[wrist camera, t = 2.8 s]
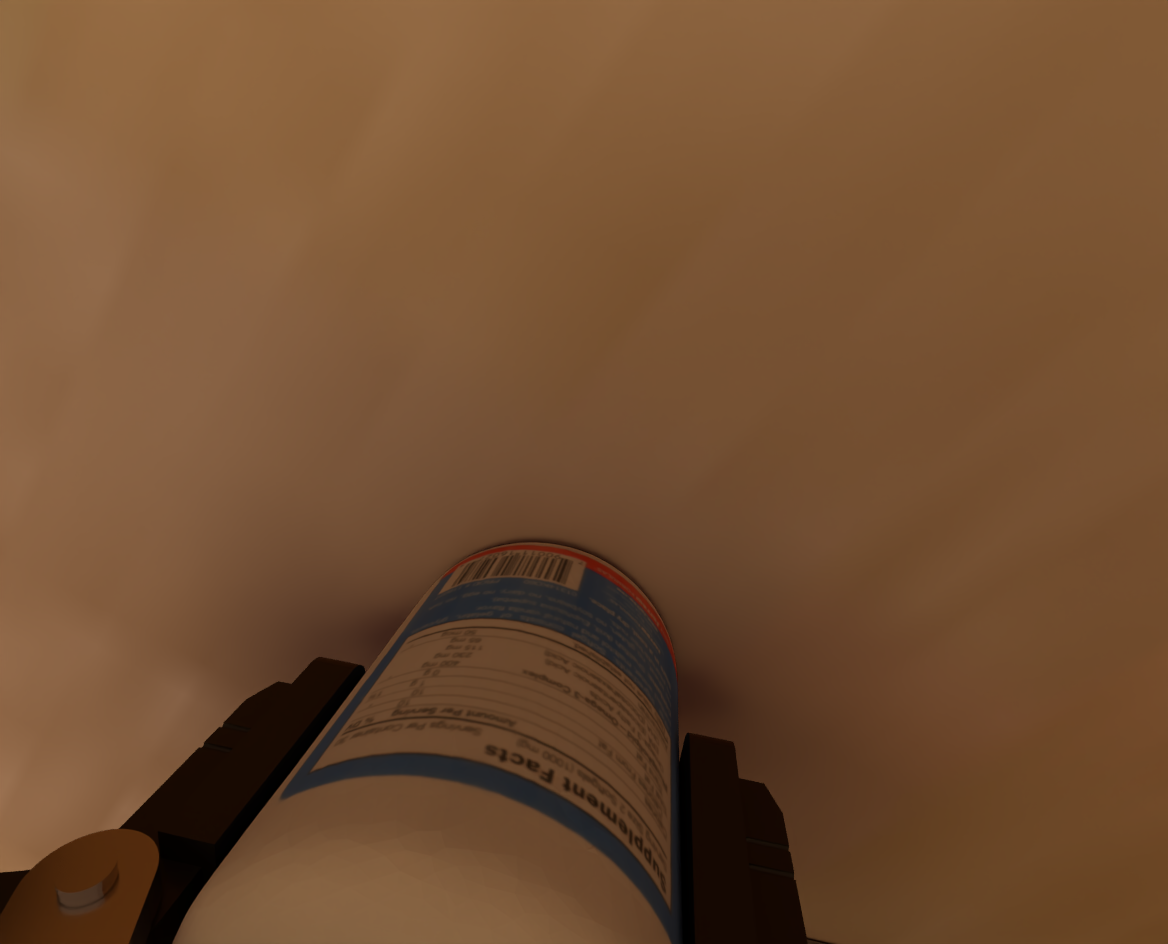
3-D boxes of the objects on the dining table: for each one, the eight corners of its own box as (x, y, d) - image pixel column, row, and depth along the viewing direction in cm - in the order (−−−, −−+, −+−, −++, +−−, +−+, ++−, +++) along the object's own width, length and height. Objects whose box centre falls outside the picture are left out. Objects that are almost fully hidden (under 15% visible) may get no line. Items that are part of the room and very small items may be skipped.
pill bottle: (566, 806, 14) (360, 1810, 5) (369, 658, 14) (-263, 1474, 4) (740, 650, 12) (918, 1769, 3) (521, 475, 12) (-9, 1198, 3)
